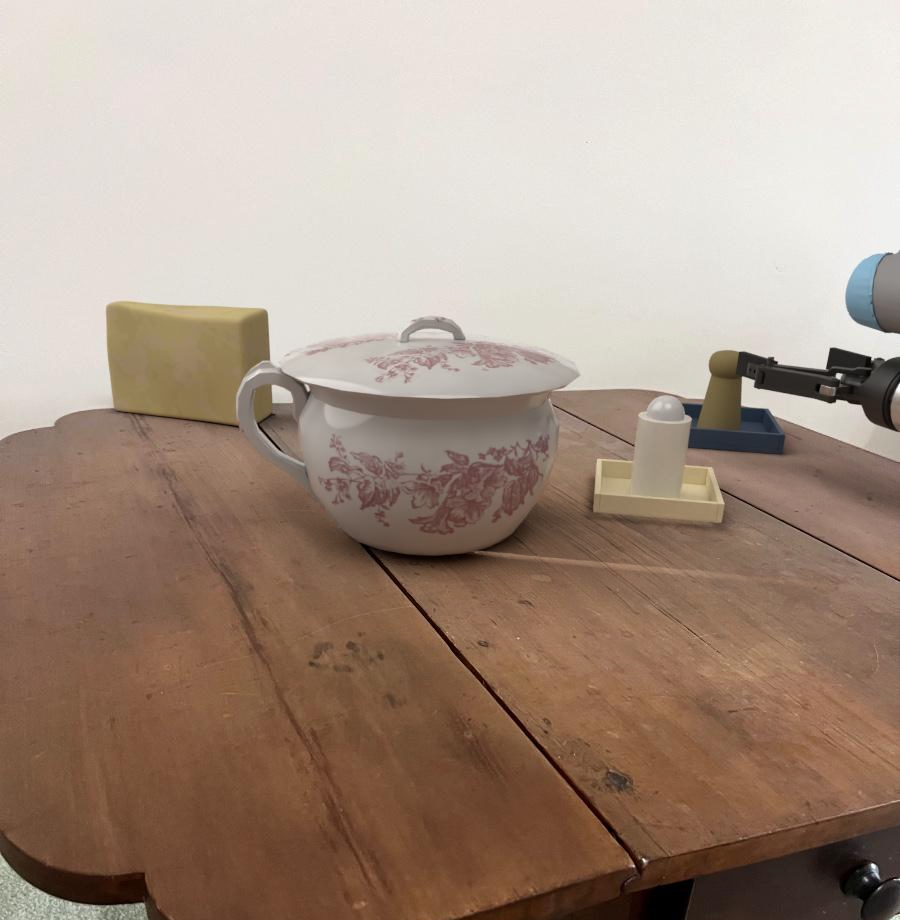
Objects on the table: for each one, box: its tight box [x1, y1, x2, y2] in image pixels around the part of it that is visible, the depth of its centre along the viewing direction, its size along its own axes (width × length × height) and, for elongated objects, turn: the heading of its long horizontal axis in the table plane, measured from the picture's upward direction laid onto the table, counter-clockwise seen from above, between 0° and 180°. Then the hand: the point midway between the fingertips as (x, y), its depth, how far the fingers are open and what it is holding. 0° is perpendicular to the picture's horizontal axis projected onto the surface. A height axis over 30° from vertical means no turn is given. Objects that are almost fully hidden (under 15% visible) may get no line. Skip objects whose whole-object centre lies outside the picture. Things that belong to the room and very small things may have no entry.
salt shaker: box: [629, 394, 692, 499], centre depth 99 cm, size 6×6×11 cm
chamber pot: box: [236, 315, 581, 557], centre depth 87 cm, size 28×28×21 cm
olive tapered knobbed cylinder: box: [696, 349, 744, 431], centre depth 126 cm, size 6×6×11 cm
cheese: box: [105, 300, 274, 427], centre depth 126 cm, size 22×10×15 cm, turn 80°
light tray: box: [592, 458, 726, 524], centre depth 101 cm, size 13×13×3 cm
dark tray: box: [681, 402, 787, 455], centre depth 128 cm, size 15×15×3 cm
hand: (785, 360), depth 115 cm, fingers open, 13 cm apart
